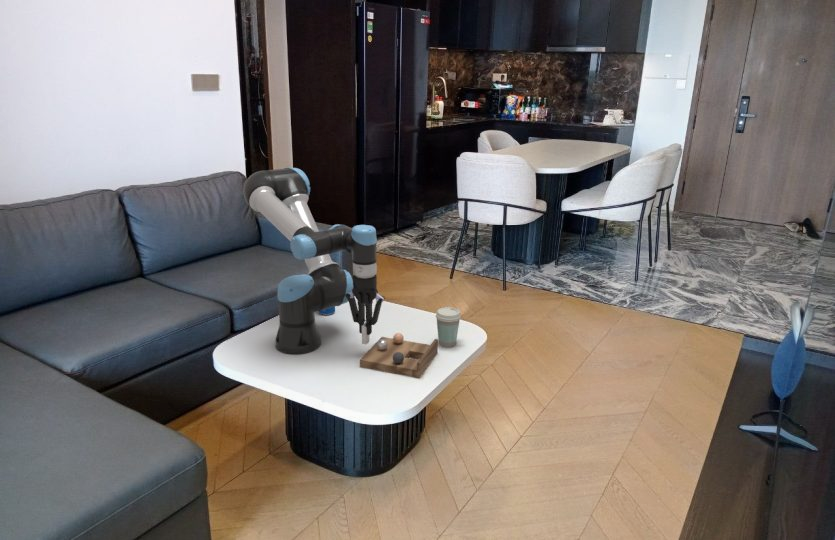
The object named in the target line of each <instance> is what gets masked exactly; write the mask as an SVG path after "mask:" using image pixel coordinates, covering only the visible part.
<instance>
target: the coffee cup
mask: <svg viewBox="0 0 835 540" xmlns="http://www.w3.org/2000/svg"><path fill="white" fill-rule="evenodd" d="M435 318H436V325H437V339H438V346H441V347H443V348H451V347H455V346H456V345H457V338H458V331H459V328H460V327H459V326H460V320H461V318H462V316H461V312H460V310H459V309H458V308H455V307H452V306H451V307H449V306H447V307H440V308H439V309H437V311H436V313H435Z"/></svg>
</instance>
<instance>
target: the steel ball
mask: <svg viewBox="0 0 835 540" xmlns="http://www.w3.org/2000/svg"><path fill="white" fill-rule="evenodd" d="M378 340H379V339H378ZM378 340H377V341H378ZM377 347H378V348H379V349H380V350H385V349H387V347H388V343H387V341H386V340H383V339H382V340H379V341H378V343H377Z"/></svg>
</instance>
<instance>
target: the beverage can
mask: <svg viewBox="0 0 835 540" xmlns="http://www.w3.org/2000/svg"><path fill="white" fill-rule="evenodd" d="M317 312H318V313H319V314H320V315H322V314H323V315H322V316H331V315H333V314H334V313H335V312H336V306H335V307H331V308H328V309H324V310H321V311H317ZM332 313H333V314H332ZM330 314H331V315H330Z"/></svg>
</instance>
